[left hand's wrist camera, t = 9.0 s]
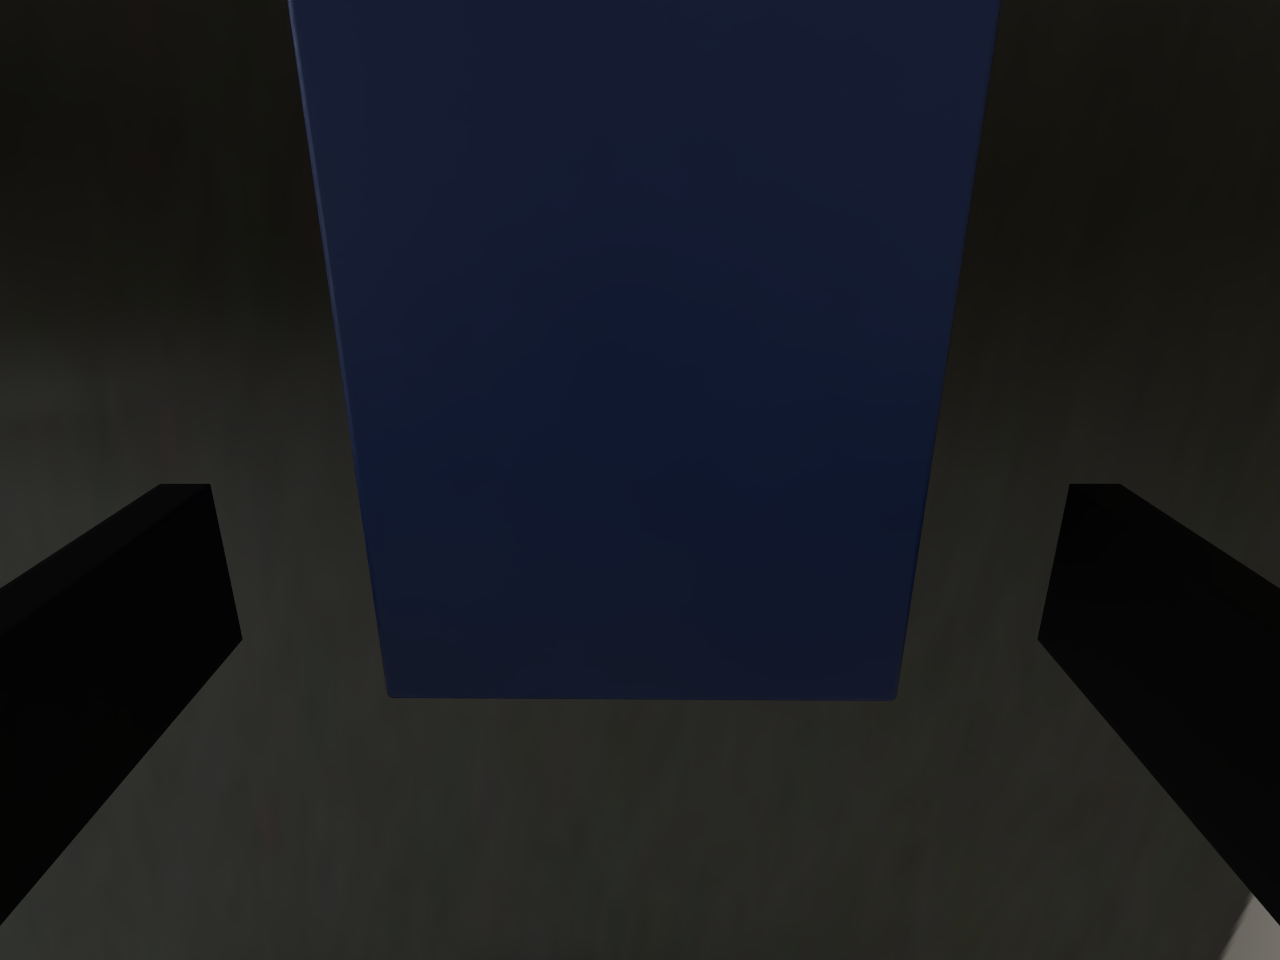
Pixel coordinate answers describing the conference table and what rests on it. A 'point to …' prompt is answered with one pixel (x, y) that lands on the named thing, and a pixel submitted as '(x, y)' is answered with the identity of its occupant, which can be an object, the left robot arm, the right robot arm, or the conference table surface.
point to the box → (643, 329)
